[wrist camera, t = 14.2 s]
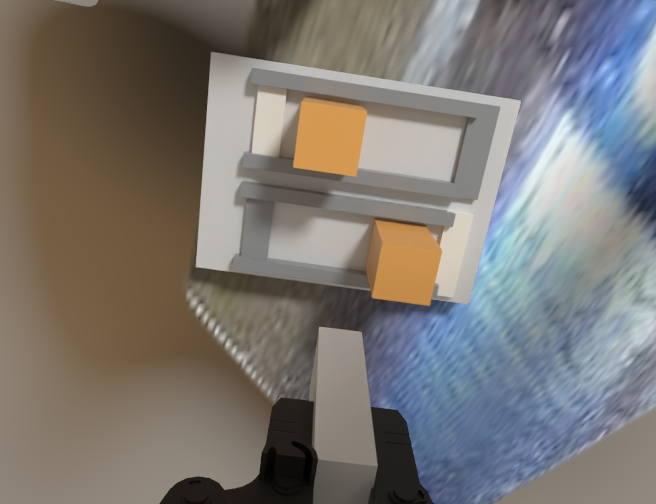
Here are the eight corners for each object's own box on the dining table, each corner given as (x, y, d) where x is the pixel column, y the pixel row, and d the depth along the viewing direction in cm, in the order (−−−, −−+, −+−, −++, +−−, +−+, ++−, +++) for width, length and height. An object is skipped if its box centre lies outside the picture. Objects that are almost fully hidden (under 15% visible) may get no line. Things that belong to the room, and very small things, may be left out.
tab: (425, 225, 40) (442, 250, 34) (415, 273, 41) (429, 305, 35) (374, 218, 40) (382, 242, 34) (365, 266, 41) (371, 297, 35)
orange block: (361, 105, 37) (367, 111, 31) (351, 161, 38) (356, 176, 33) (305, 96, 37) (301, 101, 31) (297, 153, 38) (292, 167, 32)
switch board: (511, 99, 39) (526, 101, 36) (462, 294, 44) (471, 309, 41) (216, 52, 38) (208, 51, 35) (201, 258, 43) (192, 271, 40)
